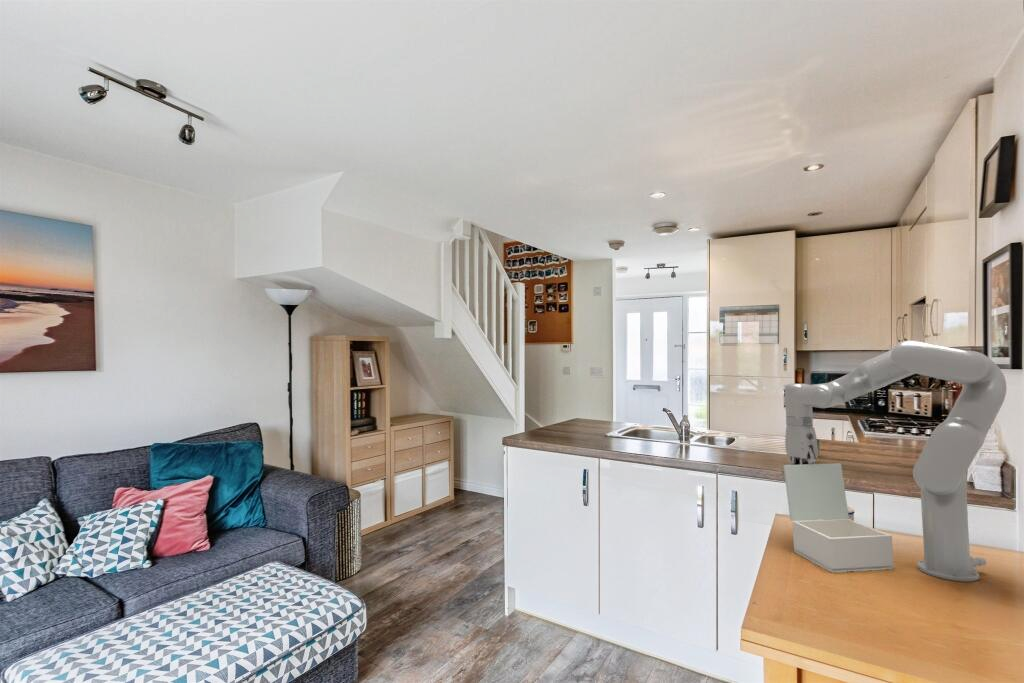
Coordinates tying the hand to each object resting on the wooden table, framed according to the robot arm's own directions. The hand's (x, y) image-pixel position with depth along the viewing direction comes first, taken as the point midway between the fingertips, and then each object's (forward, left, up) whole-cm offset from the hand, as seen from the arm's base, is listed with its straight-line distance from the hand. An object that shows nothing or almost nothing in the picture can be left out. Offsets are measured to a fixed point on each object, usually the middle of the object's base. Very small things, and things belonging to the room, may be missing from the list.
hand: (801, 479), depth 164 cm
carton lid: (0, +7, -2) cm, 7 cm away
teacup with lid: (-15, -4, -20) cm, 25 cm away
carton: (0, +16, -20) cm, 25 cm away
